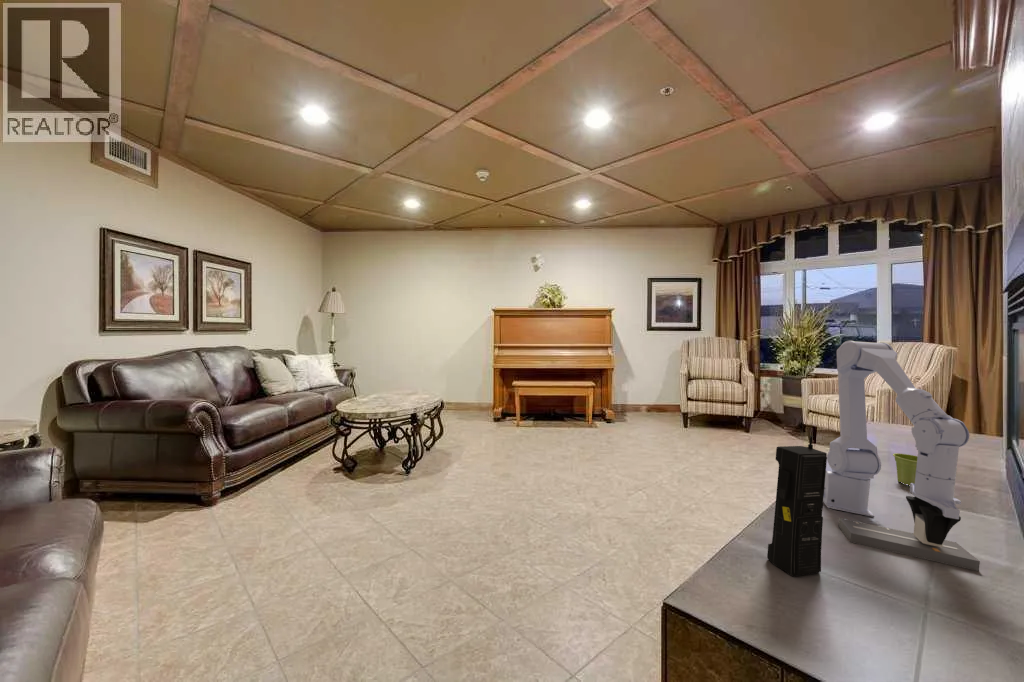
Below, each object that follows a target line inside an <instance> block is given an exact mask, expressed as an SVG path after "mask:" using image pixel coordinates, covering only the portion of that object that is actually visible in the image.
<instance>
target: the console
mask: <svg viewBox="0 0 1024 682" xmlns="http://www.w3.org/2000/svg"><path fill="white" fill-rule="evenodd" d="M838 518H839V519H838V527H839V529H840V530H841V532H842V533H843V534H844V535H845V536H846V538H847V539H848V541H849V542H850V543H853V544H859V545H861V546H862V545H863V546H867V547H870V548H875V549H880V550H884V551H887V552H893V553H898V554H901V555H906V556H910V557H914V558H919V559H923V560H928V561H933V562H937V563H941V564H946V565H949V566H954V567H959V568H964V569H968V570H971V571H977V572H979V571H980V564H981V561H980V560H979V559H978V558H977V557H975V556H974V555H973V554H971V553H970V552H969V551H968V550H966V549H965V548H964V547H963V546H962V545H960V544H959V543H958V542H957V541H952V540H946V539H945V540H944V542H943V547H938V546H933V545H928V544H924V543H922V542H921V541H920V540H919V539H918V538H917V537H915V536H914V532H908V531H904V530H898V529H893V528H890V527H885V526H881V525H880V526H879V525H876V524H872V523H871V524H869V523H865V522H860V521H856V520H852V519H848V518H847V519H846V518H841V517H838Z"/></svg>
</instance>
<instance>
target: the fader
mask: <svg viewBox="0 0 1024 682" xmlns="http://www.w3.org/2000/svg"><path fill="white" fill-rule="evenodd" d="M913 533H914V536H915V537H917V538H918V539H919V540H920V541H921V542H922V543H924V544H928V545H933V546H938V547H943V544H942V545H939V544H935V543H930V542H928V541H927V538H926V532H925V521H924V517H923V515H922V514H916V513H915V523H914V526H913Z"/></svg>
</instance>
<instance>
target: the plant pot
mask: <svg viewBox="0 0 1024 682" xmlns="http://www.w3.org/2000/svg"><path fill="white" fill-rule="evenodd" d="M892 456H893V457H894V460H895V466H896V467H895V468H896V474H897V476H896V477H897V482H898V481H899V482H902V483H904V484H908V485H910V483H913V484H915V476H916V467H917V457H918V455H913V454H906V453H893V454H892ZM899 482H898V483H899Z"/></svg>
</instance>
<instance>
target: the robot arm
mask: <svg viewBox="0 0 1024 682" xmlns="http://www.w3.org/2000/svg"><path fill="white" fill-rule="evenodd" d="M897 360H898V352H897V351H895V350H894V348H893V346H892V345H891V344H889V343H887V342H871V341H870V342H867V341H854V340H846V341H844V342H843V343H842V344H841V345H840V346H839V347H837V349H836V368H837V380H838V383H837V387H838V404H839V405H838V407H839V433H840V436H839V437H837V438H835V439H833V440H832V441H830V442H829V451H828V453H827V463H828V466H829V467H830V468H831V470H826V475H825V486H824V496H823V504H824V505H825V506H826V507H827V509H833V510H838V511H843V512H847V513H851V514H857V515H863V516H868V517H871V518H873V517H875V515H874V513H873V512H872V511H870V509H869V508H868V507H869V498H870V497H869V496H870V488H871V479H874V477H875V475H876V476H877V475H878V474H879V473H880V471H881V469H882V461H881V459H880V457H879V454H878V447H877V446H876V445H875V444H874V443H873V442H871V441H870V440H869V439H868V433H867V432H868V430H867V427H868V426H867V412H866V411H867V410H866V409H867V408H866V407H867V405H866V388H865V384H866V383H865V379H866V378H867V377H868V376H870V375H872V374H874V373H877V374H878V375H879V376H880V377H881V378H882V380H883V381H884V382H885V383H886V384H887V385H888V386H889V387H890V388H891V389H892V391H894V393H896V397H895V403H896V404H897V406H898V407H899V408H900V409H901V411H902V412H903V414H905V417H907V418H908V420H909V421H910V422H911V424H912V425H913V426H911V435H912V437H913V438H914V440H915V446H914V447H915V448H916V450H917V456H918V457H917V467H916V476H915V484H913V483H910V486H909V492H910V493H911V494H912V495H913V496H911V495H906V496H905V499H906V501H907V503H908V505H909V507H910V510H911V514H912V517H913V521H914V522H913V523H914V524H915V513H916V514H922V515H923V517H924V521H925V532H926V538H927V541H928V542H930V543H935V544H939V545H942V544H943V542H944V540H946V538H947V536H948V534H949V532H950V531H951V529H952V528H953V527H954V526H955V525H957V524H958V523H959V522H960V521H961V519H962V517H961V516H960V514H961V513H960V512H961V510H960V509H959V508H958V507H957V505H961V504H962V501H961V500H960V499H958V498H956V497H954V496H955V489H956V488H955V486H956V477H957V470H958V469H957V467H958V462H959V461H958V460H959V450H960V448H961V447H963V446H965V445H966V444H967V443H968V442H969V440H970V431H969V429H968V427H967V426H966V424H965V422H963V421H961V420H960V419H958V418H953V417H952V416H951V415H948V414H947V413H946V412H945V411H944V410H943V409H942V408H941V406H940V405H939V404H938V403H937V402H936V400H934V398H933V395H932V393H931V391H927V390H925V389H922V388H916V386H915V385H914V383H913V382H912V381H911V379H910V378H909V376H908V375H907V373H906V372H905V371H904V369H903V368H902V366H901V365H900V364H899V362H898V361H897Z"/></svg>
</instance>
